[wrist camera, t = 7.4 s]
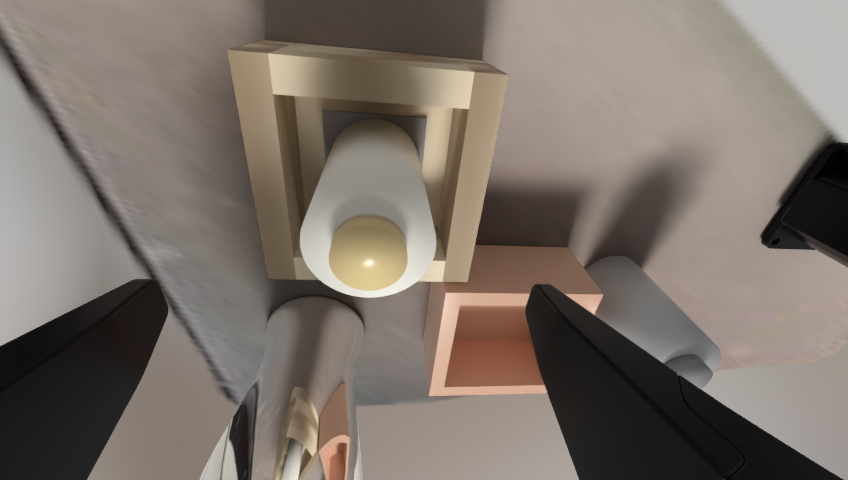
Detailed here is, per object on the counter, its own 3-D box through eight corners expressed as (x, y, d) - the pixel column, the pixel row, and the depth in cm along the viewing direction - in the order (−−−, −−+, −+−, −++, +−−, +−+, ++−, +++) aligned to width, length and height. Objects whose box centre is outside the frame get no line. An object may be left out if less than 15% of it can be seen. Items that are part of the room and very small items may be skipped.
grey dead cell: (648, 256, 22) (750, 352, 16) (623, 303, 25) (704, 405, 18) (588, 254, 22) (669, 353, 16) (568, 303, 24) (632, 407, 18)
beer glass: (250, 290, 21) (51, 705, 9) (370, 288, 22) (348, 668, 9) (270, 367, 25) (153, 734, 12) (372, 363, 26) (359, 706, 13)
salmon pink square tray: (567, 247, 21) (603, 294, 18) (533, 340, 26) (557, 392, 22) (435, 243, 20) (445, 292, 17) (422, 340, 25) (429, 396, 21)
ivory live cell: (422, 122, 16) (447, 199, 9) (415, 204, 18) (431, 313, 11) (327, 115, 15) (286, 192, 9) (332, 201, 17) (301, 312, 11)
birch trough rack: (482, 60, 16) (509, 75, 12) (453, 236, 20) (467, 282, 17) (264, 39, 14) (227, 49, 11) (288, 231, 19) (267, 279, 16)
